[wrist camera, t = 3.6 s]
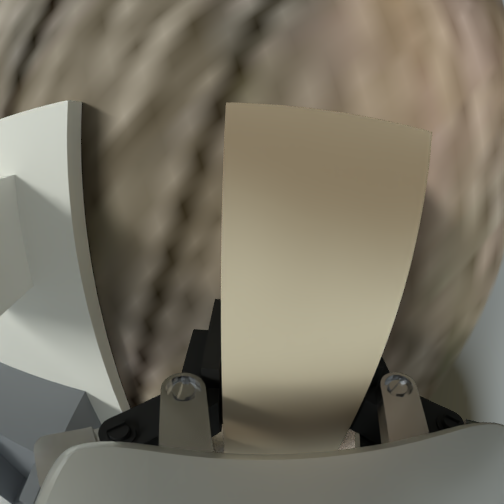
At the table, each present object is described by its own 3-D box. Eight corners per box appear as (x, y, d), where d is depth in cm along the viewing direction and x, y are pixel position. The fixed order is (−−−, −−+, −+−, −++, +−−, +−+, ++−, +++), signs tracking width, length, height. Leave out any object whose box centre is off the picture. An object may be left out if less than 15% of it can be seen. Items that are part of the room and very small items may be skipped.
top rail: (239, 119, 9) (225, 102, 5) (354, 131, 9) (432, 132, 5) (231, 428, 15) (226, 501, 11) (298, 429, 15) (306, 500, 11)
